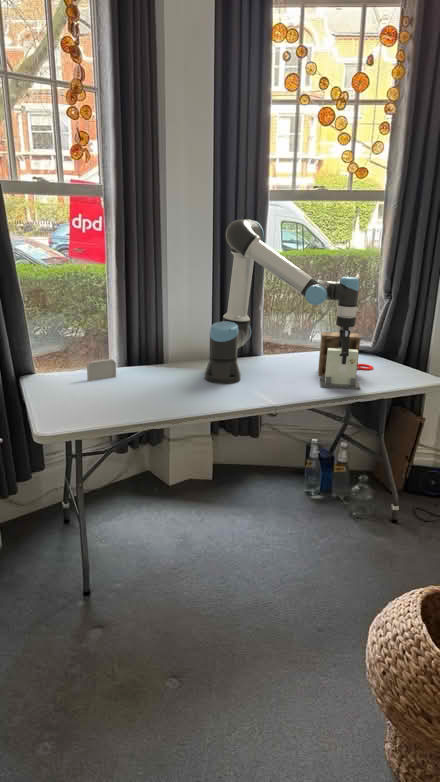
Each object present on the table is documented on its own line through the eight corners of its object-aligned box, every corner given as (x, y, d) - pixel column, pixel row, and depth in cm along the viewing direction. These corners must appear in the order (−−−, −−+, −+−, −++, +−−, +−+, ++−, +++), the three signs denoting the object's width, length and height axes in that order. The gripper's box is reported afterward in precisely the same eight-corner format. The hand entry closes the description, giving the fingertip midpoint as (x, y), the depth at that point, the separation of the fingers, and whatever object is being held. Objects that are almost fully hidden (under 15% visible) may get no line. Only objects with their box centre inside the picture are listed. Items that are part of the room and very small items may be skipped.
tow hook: (369, 366, 270) (350, 365, 269) (373, 339, 266) (354, 338, 265) (375, 371, 262) (355, 370, 261) (380, 344, 258) (360, 343, 257)
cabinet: (318, 375, 250) (322, 335, 245) (318, 370, 258) (321, 331, 252) (355, 378, 249) (360, 337, 243) (354, 373, 256) (358, 333, 250)
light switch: (116, 377, 239) (115, 359, 236) (89, 381, 232) (88, 362, 230) (114, 376, 240) (114, 358, 238) (87, 380, 234) (86, 361, 231)
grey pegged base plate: (320, 387, 234) (321, 377, 233) (319, 380, 244) (320, 371, 242) (360, 389, 232) (361, 380, 231) (357, 382, 242) (358, 373, 241)
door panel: (325, 383, 236) (328, 350, 231) (324, 380, 240) (327, 348, 236) (355, 385, 234) (358, 352, 230) (353, 382, 239) (357, 349, 235)
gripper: (359, 322, 217) (353, 376, 223) (352, 311, 240) (347, 360, 247) (339, 321, 218) (334, 374, 224) (334, 310, 241) (330, 358, 248)
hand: (341, 367), depth 236 cm, fingers open, 13 cm apart
